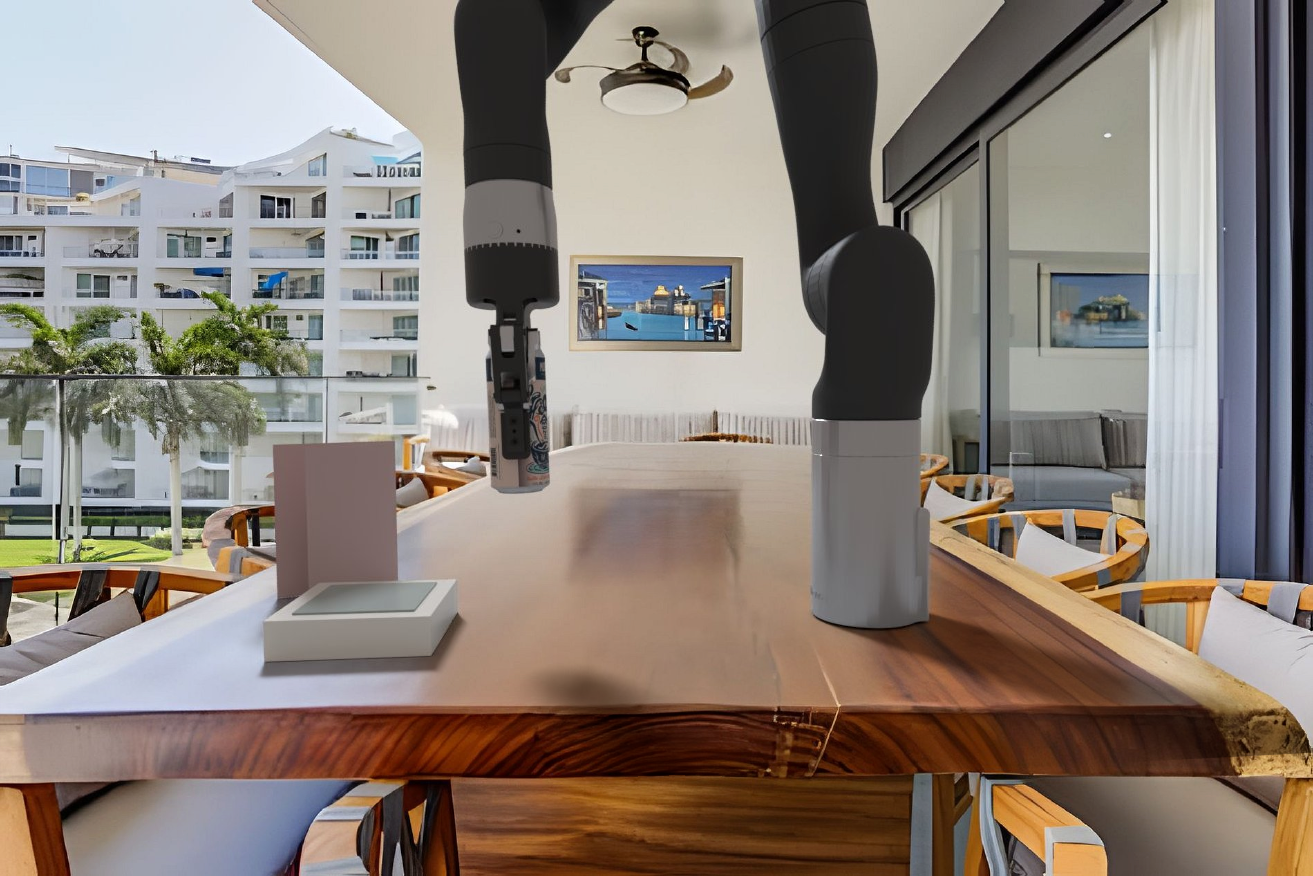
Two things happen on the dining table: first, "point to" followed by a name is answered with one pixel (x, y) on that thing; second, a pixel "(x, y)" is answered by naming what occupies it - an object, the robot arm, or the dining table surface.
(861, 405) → the robot arm
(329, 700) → the dining table surface
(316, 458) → the greeting card
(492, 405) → the beer can
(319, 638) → the picture frame
